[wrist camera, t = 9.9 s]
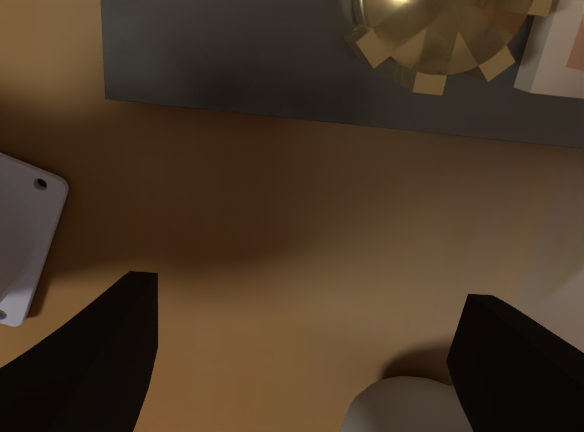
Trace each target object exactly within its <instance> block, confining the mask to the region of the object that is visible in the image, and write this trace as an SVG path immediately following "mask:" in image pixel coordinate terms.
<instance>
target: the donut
mask: <svg viewBox="0 0 584 432" xmlns="http://www.w3.org/2000/svg"><path fill="white" fill-rule="evenodd" d="M340 432H473V430H472V428H471V426H470V423H469V421H468V419H467V417H466V415H465V413H464V411H463V409H462V406H461V404H460V402H459V399H458V397H457V394H456V391H455V388H454V387H452V386H450V385H447V384H444V383H441V382H438V381H435V380H432V379H429V378H421V377H411V376H396V377H392V378H387V379H382V380H379V381H377V382H375V383H373V384H371V385H370V386H369V387H367V388H366V389H365V390H364V391H362V392H361V393H360V394H358V395H357V396H356V397H355V399H354V400H353V401H352V402H351V405H350V407H349V409H348V412H347V414H346V417H345V419H344V421H343V424H342V428H341V431H340Z"/></svg>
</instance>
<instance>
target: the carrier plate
mask: <svg viewBox="0 0 584 432" xmlns="http://www.w3.org/2000/svg"><path fill="white" fill-rule="evenodd" d="M552 1H553V0H101V18H102V38H103V59H104V79H105V99H110V100H120V101H129V102H139V103H149V104H158V105H168V106H178V107H187V108H197V109H207V110H216V111H226V112H236V113H245V114H255V115H265V116H274V117H284V118H294V119H303V120H313V121H323V122H332V123H342V124H352V125H361V126H371V127H380V128H390V129H400V130H409V131H419V132H429V133H438V134H448V135H458V136H467V137H477V138H487V139H496V140H506V141H516V142H525V143H535V144H545V145H554V146H564V147H574V148H583V149H584V99H582V98H573V97H563V96H554V95H545V94H536V93H529V92H526V91H523V90H520V89H517V88H514V84H515V80H516V77H517V74H518V70H519V67H520V64H521V60H522V57H523V54H524V50H525V47H526V44H527V40H528V37H529V34H530V30H531V27H532V24H533V21H534V17H535V16H543V17H548V13H549V10H550V7H551V4H552Z"/></svg>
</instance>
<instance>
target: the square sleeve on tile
mask: <svg viewBox="0 0 584 432" xmlns="http://www.w3.org/2000/svg"><path fill="white" fill-rule="evenodd" d="M514 88H517V89H520V90H523V91H526V92H529V93H536V94H545V95H554V96H563V97H573V98H582V99H584V0H553V1H552V4H551V7H550V10H549V13H548V17H543V16H535V17H534V21H533V24H532V27H531V30H530V34H529V37H528V40H527V44H526V47H525V50H524V54H523V57H522V60H521V64H520V67H519V70H518V74H517V77H516V80H515V84H514Z"/></svg>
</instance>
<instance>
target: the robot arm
mask: <svg viewBox="0 0 584 432" xmlns="http://www.w3.org/2000/svg"><path fill="white" fill-rule="evenodd" d="M38 179H43V180H44V181H45V182H46V184H47V187H42V186H41V185H39V183H38ZM68 191H69V186H68V183H67V182H66V181H65V180H64V179H63V178H62V177H60V176H58V175H55V174H53V173H50V172H48V171H45V170H43V169H40V168H38V167H35V166H33V165H30V164H28V163H25V162H23V161H20V160H18V159H15V158H13V157H10V156H8V155H5V154H3V153H0V310H2V311H4V312H5V313H6V314H3V313H1V312H0V323H2V324H5V325H9V326H13V327H15V326H20V325H21V324H22V323H23V322H24V321H25V319H26V318H27V315H28V312H29V309H30V306H31V303H32V300H33V297H34V294H35V291H36V288H37V285H38V282H39V279H40V276H41V273H42V270H43V267H44V264H45V261H46V258H47V255H48V252H49V249H50V245H51V242H52V239H53V236H54V233H55V230H56V227H57V224H58V221H59V218H60V215H61V212H62V209H63V206H64V203H65V200H66V197H67V194H68ZM157 349H158V273H150V272H135V271H129V272H128V273H127V274H125V275H124V276H123V277H122V278H120V279H119V280H118V281H117V282H115V283H114V284H113V285H112V286H111V287H110V288H108V289H107V290H106V291H105V292H104V293H102V294H101V295H100V296H99V297H98V298H96V299H95V300H94V301H93V302H92V303H90V304H89V305H88V306H87V307H85V308H84V309H83V310H82V311H80V312H79V313H78V314H77V315H75V316H74V317H73V318H72V319H70V320H69V321H68V322H67V323H65V324H64V325H63V326H61V327H60V328H59V329H57V330H56V331H54V332H53V333H52V334H50V335H49V336H47V337H46V338H45V339H43V340H42V341H41V342H39V343H38V344H36V345H35V346H34V347H32V348H31V349H29V350H28V351H26V352H25V353H23V354H22V355H20V356H19V357H17V358H16V359H14V360H13V361H11V362H9V363H8V364H6V365H5V366H3V367H1V368H0V432H133V430H134V428H135V425H136V422H137V419H138V416H139V414H140V411H141V408H142V405H143V402H144V400H145V397H146V394H147V391H148V388H149V384H150V380H151V375H152V371H153V367H154V362H155V358H156V353H157ZM446 362H447V365H448V369H449V372H450V375H451V379H452V382H453V385H454V388H455V391H456V394H457V397H458V399H459V402H460V404H461V406H462V409H463V411H464V413H465V415H466V417H467V419H468V421H469V423H470V426H471V428H472V430H473V432H584V353H583V352H581V351H580V350H578V349H577V348H575V347H574V346H572V345H571V344H569V343H567V342H566V341H564V340H563V339H561V338H560V337H558V336H557V335H555V334H554V333H552V332H551V331H549V330H548V329H546V328H545V327H543V326H542V325H540V324H539V323H537V322H536V321H534V320H532V319H531V318H530V317H528V316H526V315H525V314H523V313H522V312H520V311H519V310H517V309H516V308H514V307H512V306H511V305H509V304H507V303H506V302H504V301H502V300H500V299H499V298H497V297H495V296H493V295H479V294H468V296H467V299H466V302H465V305H464V308H463V311H462V314H461V318H460V321H459V324H458V327H457V330H456V333H455V336H454V339H453V342H452V345H451V348H450V351H449V354H448V357H447V360H446Z"/></svg>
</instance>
